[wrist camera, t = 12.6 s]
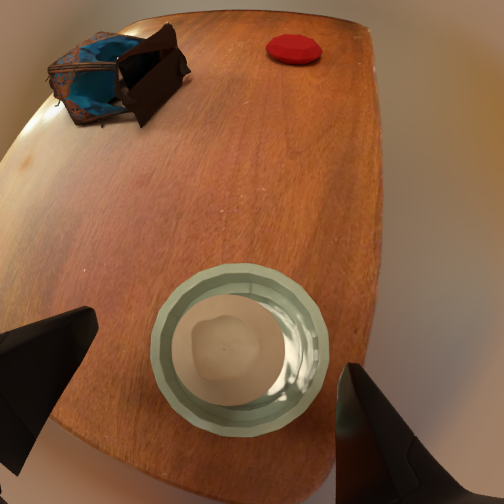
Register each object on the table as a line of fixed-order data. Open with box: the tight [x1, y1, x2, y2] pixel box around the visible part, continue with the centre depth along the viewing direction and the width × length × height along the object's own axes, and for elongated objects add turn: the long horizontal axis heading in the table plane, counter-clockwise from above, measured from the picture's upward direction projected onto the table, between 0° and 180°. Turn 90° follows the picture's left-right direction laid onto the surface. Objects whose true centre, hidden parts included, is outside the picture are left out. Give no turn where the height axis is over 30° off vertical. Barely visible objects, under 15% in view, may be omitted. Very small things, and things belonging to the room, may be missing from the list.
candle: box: [171, 294, 285, 406], centre depth 16 cm, size 6×6×10 cm
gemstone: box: [266, 34, 322, 64], centre depth 36 cm, size 9×9×3 cm
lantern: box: [46, 22, 191, 128], centre depth 30 cm, size 16×16×25 cm
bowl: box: [150, 263, 330, 437], centre depth 19 cm, size 11×11×5 cm
